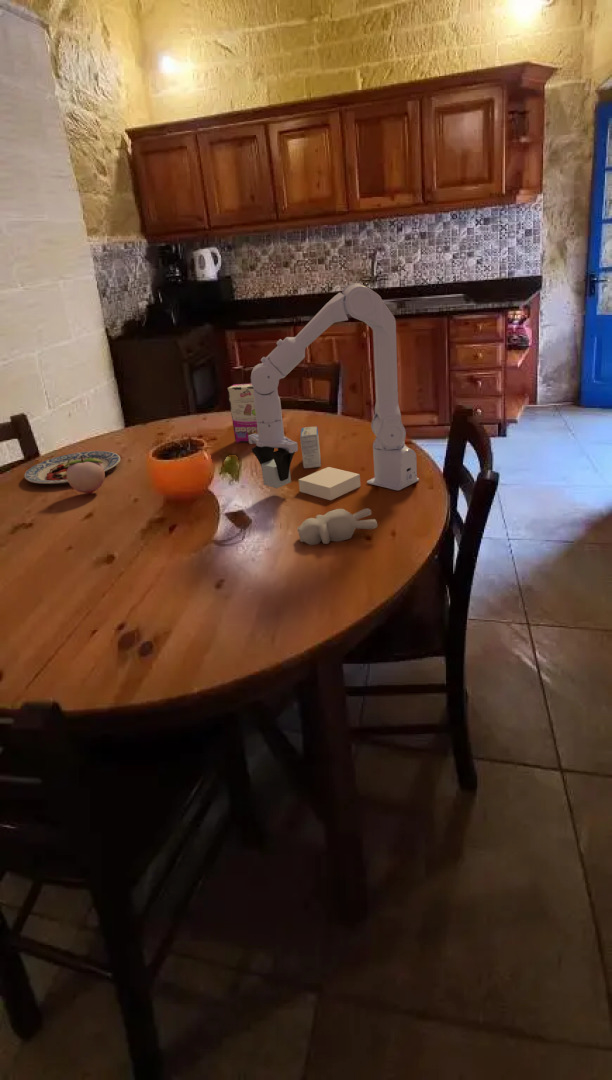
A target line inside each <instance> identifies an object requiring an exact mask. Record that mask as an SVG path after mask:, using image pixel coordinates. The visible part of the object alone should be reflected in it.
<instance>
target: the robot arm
mask: <svg viewBox="0 0 612 1080" xmlns="http://www.w3.org/2000/svg"><path fill="white" fill-rule="evenodd" d="M347 315H350V317H352V318H353V319H356V320H359V321H361V322H364V323H365V324H366V325H367V326H368V327H370V328H371V330H372V339H373V341H372V342H373V364H374V384H375V385H374V387H375V390H374V391H375V404H374V415H373V418H372V420H371V425H370V427H371V430H372V433H373V434H374V435H375V440H373V443H372V451H373V452H372V453H373V455H372V456H373V474H374V477H372V478H371V479H368V480H367V481H366V483H367V484H369V485H374V486H377V487H382V488H386V489H388V490H393V491H398V492H399V491H401V490H402V489H405V488H407V487H409V486H411V485H412V484H415V483H417V482H418V481H420V478H419V477H418V473H417V471H418V469H417V467H418V466H417V464H418V463H417V460H418V459H417V453H416V452H415V450H414V449H412V448H410V447H408V446H407V444H405V443H406V442H405V440H406V436H407V432H406V429H405V426H404V424H403V422H402V413H401V410H400V406H399V405H400V404H399V392H398V390H399V387H398V381H399V380H398V355H397V354H398V352H397V351H398V349H397V322H396V318H395V316H394V314H393V313H392V312H391V310H390V309H389V308H388V306H387V305H386V304H385V302H384V300H383V299H382V297H381V296H380V295H379V294H378V293H377V292H376V291H374V290H372V289H371V288H370V287H368V286H366V285H365V286H364V285H363V284H361V283H358V282H354V283H350V284H348V285H346V286H345V287H344V288H343V289H342V292H338V293H337V294H336V295H334V296H333V297H332V298H331V299H330V300H329V301H328V302H327V303H325V304H324V306H323V307H322V308H321V309H320V310H318V312H317V313H316V314H315V315H314V316H313V317H312V319H310V320H309V322H307V324H306V325H305V326H304V327H303V328H302V329H301V330H300V331H299V332H298V333H297V335H295V336H286V337H285V338H284V339H283V340H282V339H281V338H280V339H278V340H277V341H276V345H277V346H275V348H274V349H272V350H271V352H269V354H268V355H267V356H263V357H262V358H261V359H260V362H261V363H258V364H256V365H255V366H254V367H253V369H252V370H251V374H250V384H252V386H253V388H254V392H253V394H254V398H255V400H254V405H255V412H256V420H257V427H258V434H255V433H254V434H251V435H248V439H249V442H248V443H249V444H250V445H253V444H255V447H252V448H251V452H252V453H253V455H254V456H255V457H256V459H257V460H258V462H259V464H260V466H261V464H263V463H265V462H268V461H270V460H273V459H274V461H275V463H276V466H277V471H278V476H279V479H280V481H284V480H286V479H288V476H289V469H290V468H291V464H292V460H293V457H294V455H295V454H296V452H298V451H299V447H298V442H297V441H293V440H292V439H290V438H288V437H287V436H285V430H284V428H285V427H284V422H283V421H284V420H283V412H282V405H281V398H280V396H279V391H278V387H279V383H280V380H281V379H284V378H286V377H287V375H288V374H290V373H291V371H292V370H294V369H295V368H296V367H297V366H298V365H299V364H300V363H301V362H302V361H303V360H304V359H305V357H306V349H307V348H308V347H309V346H310V345H311V344H312V343H313V342H314V341H315V340H316V339H318V338H319V337H320V336H321V335H322V334H323V333H324V332H325V331H326V330H328V328H330V327H331V326H332V325H333V324H335V323H340V322H345V321H349V318H348V316H347ZM275 449H277V450H275ZM290 470H291V469H290Z"/></svg>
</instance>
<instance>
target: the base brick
mask: <svg viewBox="0 0 612 1080" xmlns="http://www.w3.org/2000/svg"><path fill="white" fill-rule="evenodd" d="M360 475H361V474H359V473H356V472H352V471H348V470H343V469H339V468H336V467H335V468H334V467H331V466H327V467H325V468H322V469H320V470H317V471H315V472H312V473H310V474H308V475H306V476H304V477H300V478H298V486H299V492H300V493H303V494H307V495H311V496H314V497H316V498H317V497H318V498H321V499H324V500H327V501H333V500H334V499H336V498H339V497H341V496H343V495H346V494H348V493H349V492H351V491H354V490H356V489H358V488H360V487H361V476H360Z"/></svg>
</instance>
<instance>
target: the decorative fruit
mask: <svg viewBox="0 0 612 1080" xmlns="http://www.w3.org/2000/svg"><path fill="white" fill-rule="evenodd" d="M81 460H82V461H80V460H74V461H71V462H69V463H67V464H66V465H65V466H64V468H65V467H66V466H68V465H70V464H71V465H70V466H69V467H68V469H67V480H68V482H69V483H68V484H69V486H71V488H73V490H75V491H77V492H79V493H83V494H88V495H89V494H90V495H91V494H92V493H94V492H96V491H97V490H99V489H100V488H101V487H102V486H103V484H104V482H105V477H106V471H105V472H104V469H103V466H102V465H101V464H100V463H99V462H101V463H103V462H102V461H101V460H99V459H96V458H88V459H85V460H83V458H82V456H81Z"/></svg>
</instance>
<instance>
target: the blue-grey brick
mask: <svg viewBox="0 0 612 1080" xmlns="http://www.w3.org/2000/svg"><path fill="white" fill-rule="evenodd" d="M260 467H261V473H262V481H263V486H267V487H271V488H274V489H279V488H281V487H284V486H286V485H288V484H291V483H292V480H291V479H292V477H291V469H289V476H288V479H286V480H284V481H280V479H279V476H278V471H277V466H276V463H275V461H274V459H273V460H270V461H268V462H265V463H263V464H261V465H260Z"/></svg>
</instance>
